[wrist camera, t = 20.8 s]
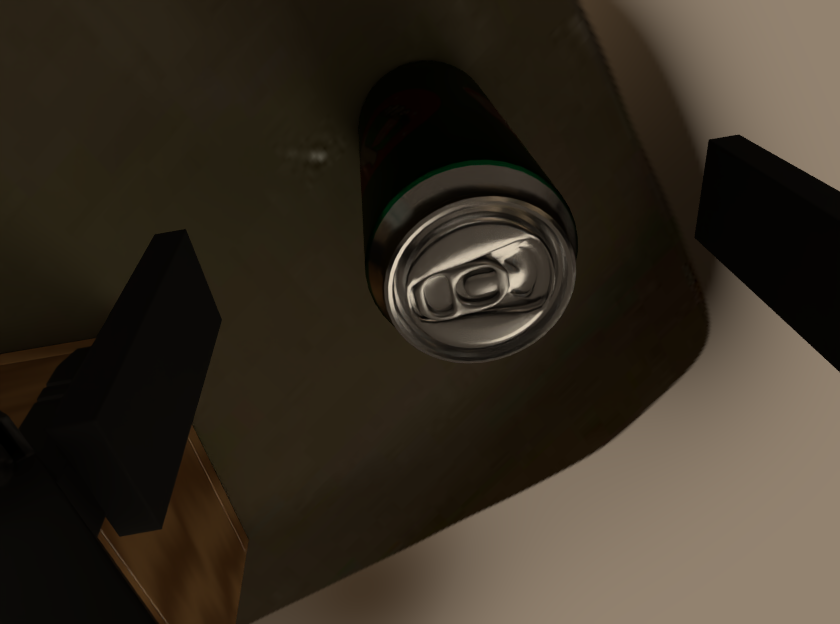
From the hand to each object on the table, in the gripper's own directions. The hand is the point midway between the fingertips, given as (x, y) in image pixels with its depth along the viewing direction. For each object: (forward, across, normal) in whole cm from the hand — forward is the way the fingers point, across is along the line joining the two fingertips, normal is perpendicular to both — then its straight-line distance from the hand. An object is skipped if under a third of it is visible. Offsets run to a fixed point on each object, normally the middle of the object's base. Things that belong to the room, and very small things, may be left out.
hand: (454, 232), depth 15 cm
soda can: (+10, 0, 0) cm, 10 cm away
